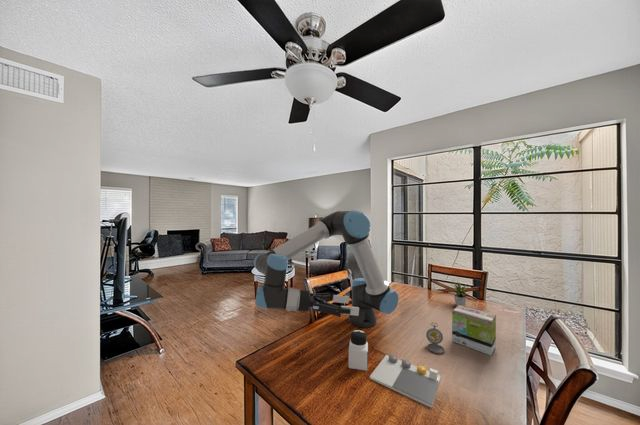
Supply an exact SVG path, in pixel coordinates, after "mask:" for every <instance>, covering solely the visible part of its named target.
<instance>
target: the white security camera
mask: <svg viewBox="0 0 640 425" xmlns="http://www.w3.org/2000/svg"><path fill="white" fill-rule="evenodd" d="M348 368H349V369H351V370H352V369H353V370H359V371H365V372H366V371H369V343H368V341H367V333H366V332H365V331H363V330H359V329H356V330H353V331H351V332H350V340H349V344H348Z"/></svg>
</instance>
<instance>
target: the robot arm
mask: <svg viewBox="0 0 640 425" xmlns="http://www.w3.org/2000/svg"><path fill="white" fill-rule="evenodd" d="M370 231H371V221H370V219H369V217H368V215H366V213H364V212H362V211H359V210H338V211H334V212H332V213H330V214H328V215H326V216H324V217H323V218H321V219H319V220H316V223H315V224H314V225H313V226H310V227H309V228H308V229H306V230H304V231H303V232H301V233H299V234H297V235H296V236H294V237H292V238H290V239H289V240H287V241H285V242H284V243H282V244H280V245H278V246H276V247H275V248H273V249H271V250H270V251H268V252H266V253H265V252H264V253H258V254H257V255H256V256H255V258H254V259H253V266H254V268H255V269H256V270H257V271H258V272H259V273H261V274H262V275H264V282H263V284H262V285H259V286H257V289H256V296H255V300H254V301H255V302H254V303H255V306H256V307H257V308H261V309H270V310H273V309H274V310H284V311H287V312H291V311H295V312H296V311H298V312H305V313H307V312H308V311H309V308H312V312H319V313H323V314H326V315H330V316H335V317H338V318H341V316H342V315H347V316H348V322H349V323H350V324H351V325H352V326H355V327H358V328H372V327H375V326H376V325H377V322H378V321H377V320H378V319H377V315H376V311H378V312H380V313H383V314H385V315H390V314H392V313H393V312H394V311H395V310H396V308H397V306H398V303H399V299H400V298H399V294H398V292H397V291H396V290H395V289H391V287H390V284H389V282H388V280H386V279H385V278H384V277H383V275H382V272H381V270H380V267H379V264H378V262H377V259H376V257H375V255H374V252H373V249H372V248H371V245H370V242H369V237H370ZM333 236H341V237H342V238H343V240H344V242H345V245H348V246H350V249H351V251H352V254H353V256H354V258H355V260H356V262H357V266H358V268H359V270H360V273H361V275H362V277H358V278H354V279H352V281H351V282H352V283H351V305H349V306H348V305H337V304H334V303H339V304H349V301H350V299H349V298H350V296H348V295H339V294H334V292H323V293H322V292H321V293H320V292H319V293H318V292H317V293H313V292H310V290H308V289H299V288H298V289H297V288H285V282H286V277H287V272H288V271H287V270H288V267H289V266H288V265H289V264H288V262H289V260H291V259H293V258H294V257H296V256H298V255H299V254H301V253H303V252H304V251H306V250H307V249H309V248H310V247H312V246H313V245H315V244H317V243H318V242H320V241H321V240H323V239H329V238H331V237H333ZM331 302H332V303H331ZM375 310H376V311H375Z"/></svg>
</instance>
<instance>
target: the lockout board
mask: <svg viewBox="0 0 640 425" xmlns="http://www.w3.org/2000/svg"><path fill="white" fill-rule="evenodd" d="M441 379H442V375H440V374H439V370H437V369H434V368H429V370H427V368H426V366H425V365H424V366H423V365H415V364H411V361H410V360H407V359H402V360H401V359H398V356H396V355H394V354H389V355H388V354H385V356H384V357H383V358H382V359H381V361H380V363H379V364H378V365H377V366H376V367H375V369H374V370H373V372H372V373H371V374H370V375H369V380H372V381H374V382H375V383H377V384H380V385H382V386H384V387H385V388H389V389H391V390H393V391H395V392H397V393H399V394H401V395H403V396H405V397H408V398H410V399H412V400H414V401H416V402H418V403H420V404H422V405H424V406H426V407H428V408H431V409H432V408H433V405H434V402H435V399H436V396H437V392H438V389H439V385H440V383H441Z"/></svg>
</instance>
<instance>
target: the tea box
mask: <svg viewBox="0 0 640 425" xmlns="http://www.w3.org/2000/svg"><path fill="white" fill-rule="evenodd" d="M451 314H452V315H451V316H452V320H451V322H452V326H451V339H452V342H453V343H456V344H459V345H462V346H464V347H467V348H468V349H469V348H470V349H472V350H475V351H477V352H480V353H483V354H484V355H485V354H486V355H487V356H490V357H492V355H493V352H494V350H495V349H496V339H497V336H496V333H497V332H496V331H497V328H496V326H497V315H496V314H495V313H492V312H491V313H490V312H487V311H484V310H483V311H482V310H479V309H475V308H472V307H468V306H466V305H465V306H461V305H458V306H456V307H454V309H453V310H452V313H451Z"/></svg>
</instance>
